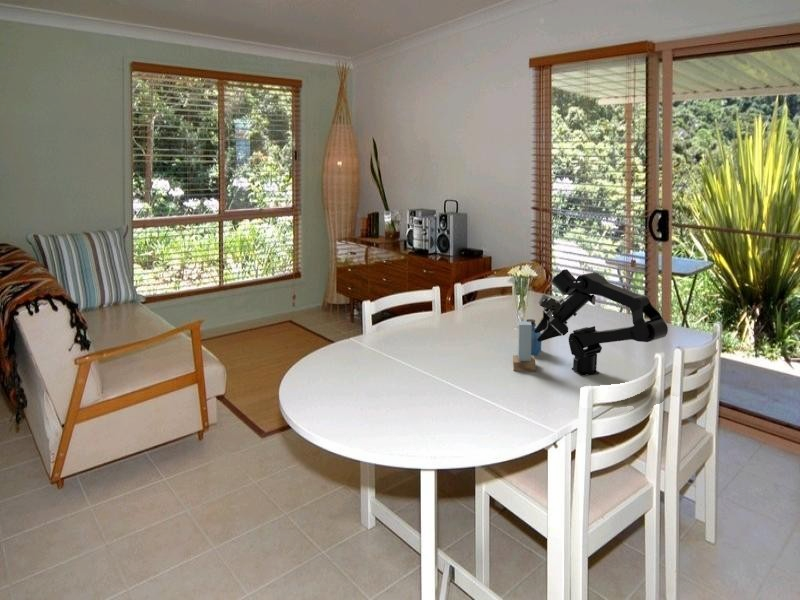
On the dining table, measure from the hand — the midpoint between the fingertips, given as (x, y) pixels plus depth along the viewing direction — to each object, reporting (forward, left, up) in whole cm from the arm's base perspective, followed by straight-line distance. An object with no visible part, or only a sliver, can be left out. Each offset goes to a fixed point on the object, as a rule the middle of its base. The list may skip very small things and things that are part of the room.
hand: (536, 336), depth 186 cm
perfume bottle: (-6, -16, -11) cm, 20 cm away
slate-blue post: (+3, -2, -8) cm, 9 cm away
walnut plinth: (+3, -2, -11) cm, 12 cm away
